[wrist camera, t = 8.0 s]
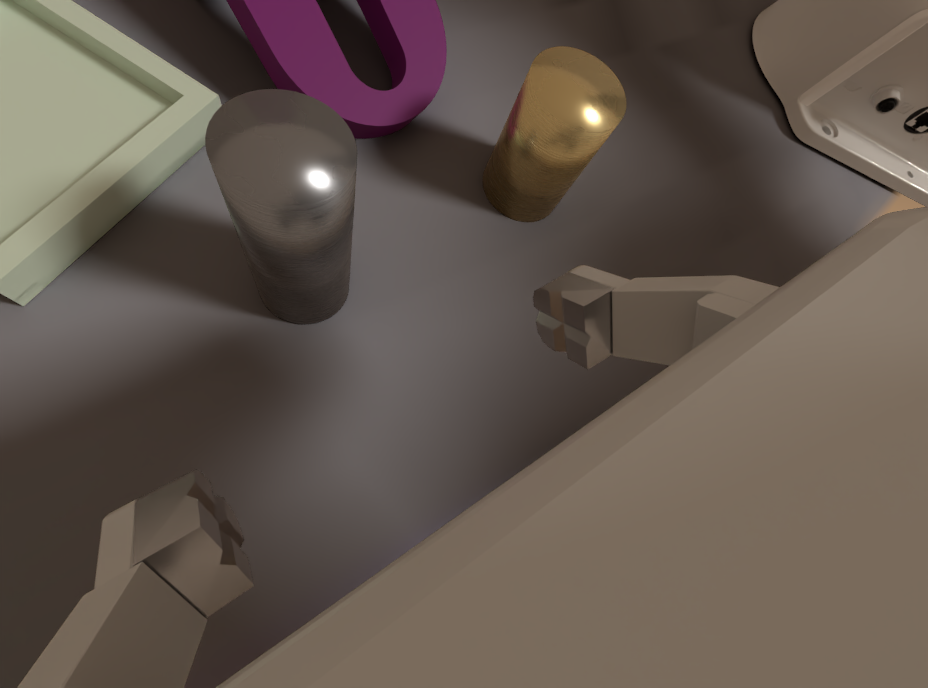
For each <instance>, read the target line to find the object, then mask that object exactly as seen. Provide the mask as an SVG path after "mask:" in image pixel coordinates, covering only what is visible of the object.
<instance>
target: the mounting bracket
mask: <svg viewBox="0 0 928 688" xmlns="http://www.w3.org/2000/svg"><path fill="white" fill-rule="evenodd" d="M227 2H228V4H229V6H230V7H231V9H232V11H233V13H234V15H235V16H236V18H237V20H238V22H239V23H240V25H241V27H242V29H243V30H244V32H245V34H246V36H247V37H248V39H249V41H250V43H251V44H252V46H253V48H254V50H255V52H256V53H257V55H258V57H259V59H260V60H261V62H262V64H263V66H264V67H265V69H266V71H267V73H268V74H269V76H270V78H271V79H272V81H273V82H274V84H275V85H276V87H277V88H278V89H282V90H289V91H295V92H299V93H302V94H305V95H308V96H310V97H313V98H315V99H317V100H319V101H321V102H323V103H324V104H326V105H327V106H329V107H330V108H332V109H333V110H334V111H335V112H337V113H338V114H339V115H340V116H341V117H342V118H343V120H344V121H345V122H346V123H347V125H348V126H349V128H350V130H351V131H352V134H353V136H354V138H361V139H366V138H376V137H381V136H385V135H388V134H391V133H394V132H396V131H398V130H400V129H402V128H403V127H405V126H406V125H407V124H409V123H410V122H411V121H412V120H413V119H414V118H415V117H416V116H417V115H419V114H420V113H421V112H422V111H423V110H424V109H425V108H426V107H427V106H428V105H429V104H430V102H431V101H432V100H433V98H434V97H435V95H436V93H437V91H438V89H439V87H440V85H441V82H442V79H443V75H444V71H445V65H446V37H445V30H444V26H443V21H442V18H441V14H440V11H439V8H438V5H437V3H436V0H357V2H358V4H359V6H360V8H361V10H362V12H363V14H364V16H365V19H366V21H367V23H368V25H369V27H370V29H371V31H372V33H373V35H374V37H375V39H376V42H377V44H378V46H379V48H380V50H381V52H382V54H383V56H384V58H385V60H386V62H387V65H388V67H389V69H390V72H391V76H392V89H391V90H387V91H380V90H375V89H373V88H370V87H368V86H367V85H365V84H364V83H362V82H361V81H360V80H359V79H358V78H357V77H356V76H355V74H354V73H353V72H352V70H351V68H350V66H349V65H348V63H347V61H346V59H345V57H344V55H343V53H342V51H341V49H340V47H339V45H338V43H337V41H336V39H335V37H334V35H333V33H332V31H331V29H330V27H329V25H328V23H327V21H326V19H325V17H324V15H323V13H322V11H321V9H320V7H319V5H318V3H317V1H316V0H227Z"/></svg>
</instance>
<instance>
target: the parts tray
mask: <svg viewBox="0 0 928 688" xmlns="http://www.w3.org/2000/svg"><path fill="white" fill-rule="evenodd" d="M221 106H222V105H221V101H220V98H219V95H217V94H216V93H214V92H213V91H211V90H210V89H208V88H207V87H205V86H203V85H202V84H200V83H199V82H197V81H196V80H194V79H193V78H191V77H189V76H188V75H186V74H185V73H183V72H182V71H180V70H179V69H177V68H176V67H174V66H172V65H171V64H169V63H168V62H166V61H165V60H163V59H162V58H160V57H158V56H157V55H155V54H154V53H152V52H151V51H149V50H148V49H146V48H144V47H143V46H141V45H140V44H138V43H137V42H135V41H134V40H132V39H131V38H129V37H127V36H126V35H124V34H123V33H121V32H120V31H118V30H117V29H115V28H113V27H112V26H110V25H109V24H107V23H106V22H104V21H103V20H101V19H100V18H98V17H96V16H95V15H93V14H92V13H90V12H89V11H87V10H86V9H84V8H82V7H81V6H79V5H78V4H76V3H75V2H73V1H72V0H0V294H2V295H4V296H6V297H7V298H9V299H11V300H13V301H15V302H16V303H18V304H20V305H22V306H25V305H26V304H27V303H28V302H29V301H30V300H32V299H33V298H34V297H35V296H36V295H37V294H38V293H39V292H41V291H42V290H43V289H44V288H45V287H46V286H47V285H48V284H50V283H51V282H52V281H53V280H54V279H55V278H56V277H57V276H58V275H60V274H61V273H62V272H63V271H64V270H65V269H66V268H67V267H69V266H70V265H71V264H72V263H73V262H74V261H75V260H76V259H78V258H79V257H80V256H81V255H82V254H83V253H84V252H85V251H87V250H88V249H89V248H90V247H91V246H92V245H93V244H94V243H95V242H97V241H98V240H99V239H100V238H101V237H102V236H103V235H104V234H106V233H107V232H108V231H109V230H110V229H111V228H112V227H113V226H115V225H116V224H117V223H118V222H119V221H120V220H121V219H122V218H124V217H125V216H126V215H127V214H128V213H129V212H130V211H131V210H132V209H134V208H135V207H136V206H137V205H138V204H139V203H140V202H141V201H143V200H144V199H145V198H146V197H147V196H148V195H149V194H150V193H152V192H153V191H154V190H155V189H156V188H157V187H158V186H159V185H160V184H162V183H163V182H164V181H165V180H166V179H167V178H168V177H169V176H171V175H172V174H173V173H174V172H175V171H176V170H177V169H178V168H180V167H181V166H182V165H183V164H184V163H185V162H186V161H187V160H189V159H190V158H191V157H192V156H193V155H194V154H195V153H196V152H197V151H199V150H200V149H201V148H202V147H203V146H204V145H205V135H206V130H207V127H208V124H209V121H210V120H211V118H212V116H213V115H214V113H215V112H216V111H217V110H218V109H219V108H220V107H221Z"/></svg>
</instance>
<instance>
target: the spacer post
mask: <svg viewBox="0 0 928 688" xmlns="http://www.w3.org/2000/svg"><path fill="white" fill-rule="evenodd" d="M205 145H206V151H207V154H208V157H209V160H210V163H211V165H212V168H213V171H214V173H215V176H216V179H217V181H218V184H219V187H220V189H221V192H222V195H223V197H224V200H225V203H226V205H227V208H228V211H229V213H230V216H231V219H232V221H233V224H234V227H235V229H236V232H237V235H238V237H239V240H240V243H241V245H242V248H243V251H244V253H245V256H246V259H247V261H248V264H249V267H250V269H251V272H252V275H253V277H254V280H255V283H256V285H257V288H258V291H259V293H260V296H261V299H262V300H263V302H264V304H265V305H266V307H267V308H268V309H269V310H270V311H271V312H272V313H273V314H275V315H276V316H278V317H279V318H281V319H283V320H286V321H288V322H292V323H297V324H313V323H318V322H321V321H324V320H326V319H328V318H330V317H332V316H333V315H334V314H336V313H337V312H338V311H339V310H340V309H341V307H342V306H343V305H344V303H345V301H346V299H347V296H348V292H349V280H350V264H351V248H352V231H353V215H354V199H355V183H356V166H357V146H356V142H355V138H354V136H353V134H352V131H351V130H350V128H349V126H348V125H347V123H346V122H345V121H344V120H343V118H342V117H341V116H340V115H339V114H338V113H337V112H335V111H334V110H333V109H332V108H330V107H329V106H327V105H326V104H324V103H323V102H321V101H319V100H317V99H315V98H313V97H310V96H308V95H305V94H302V93H299V92H295V91H289V90H282V89H263V90H255V91H251V92H247V93H244V94H241V95H239V96H236V97H234V98H232V99H231V100H229V101H227V102H226V103H225V104H223V105H222V106H221V107H220V108H219V109H218V110H217V111H216V112H215V113H214V115H213V116H212V118H211V120H210V121H209V124H208V127H207V130H206V135H205Z"/></svg>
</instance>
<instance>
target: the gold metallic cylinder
mask: <svg viewBox="0 0 928 688" xmlns="http://www.w3.org/2000/svg"><path fill="white" fill-rule="evenodd" d="M625 111H626V96H625V92H624V89H623V87H622V85H621V83H620V81H619V80H618V78H617V76H616V75H615V74H614V73H613V71H612V70H611V69H610V68H609V67H608V66H607V65H606V64H604V63H603V62H602V61H601V60H599V59H598V58H596V57H595V56H593V55H591V54H589V53H587V52H585V51H583V50H580V49H576V48H572V47H565V46H559V47H552V48H549V49H546V50H544V51H542V52H541V53H540V54H538V55H537V57H536V58H535V59H534V61H533V63H532V65H531V67H530V70H529V72H528V74H527V76H526V79H525V81H524V83H523V85H522V87H521V90H520V92H519V94H518V96H517V99H516V101H515V103H514V105H513V108H512V110H511V112H510V114H509V117H508V119H507V121H506V123H505V126H504V128H503V130H502V132H501V134H500V137H499V139H498V141H497V143H496V146H495V148H494V150H493V152H492V155H491V157H490V159H489V161H488V164H487V166H486V168H485V170H484V173H483V188H484V191H485V194H486V196H487V198H488V200H489V201H490V203H491V204H492V205H493V206H494V207H495V208H496V209H497V210H498V211H499V212H500V213H502V214H503V215H505V216H507V217H509V218H511V219H513V220H516V221H521V222H535V221H539V220H542V219H543V218H545V217H547V216H548V215H549V214H550V213H551V212H552V211H553V209H554V208H555V207H556V205H557V204H558V203H559V201H560V200H561V199H562V197H563V196H564V195H565V193H566V192H567V191H568V189H569V188H570V187H571V186H572V184H573V183H574V182H575V180H576V179H577V178H578V176H579V175H580V174H581V172H582V171H583V170H584V168H585V167H586V166H587V165H588V163H589V162H590V161H591V159H592V158H593V157H594V155H595V154H596V153H597V151H598V150H599V149H600V147H601V146H602V145H603V143H604V142H605V141H606V140H607V138H608V137H609V136H610V134H611V133H612V132H613V130H614V129H615V128H616V126H617V125H618V124H619V122H620V121H621V120H622V118H623V116H624V114H625Z"/></svg>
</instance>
